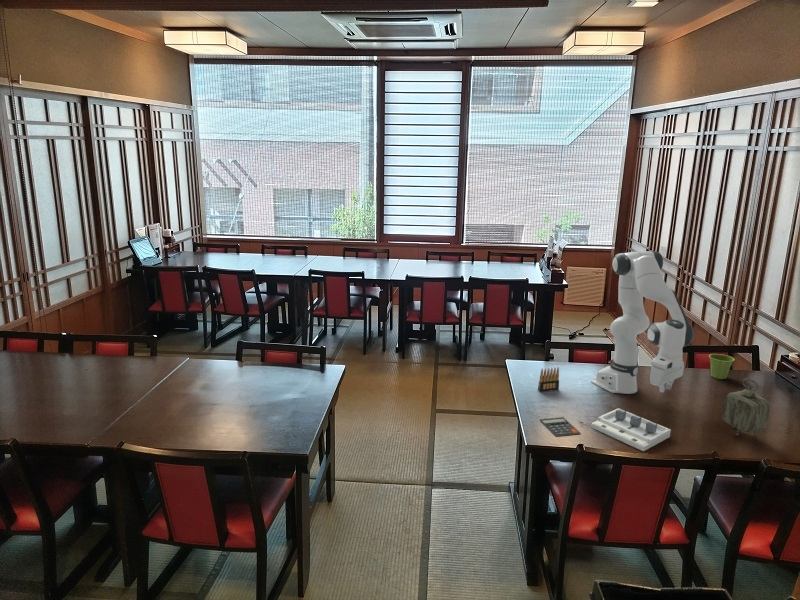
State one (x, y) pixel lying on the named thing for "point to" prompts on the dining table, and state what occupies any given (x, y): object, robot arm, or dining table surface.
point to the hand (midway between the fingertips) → (664, 390)
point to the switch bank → (630, 431)
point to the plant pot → (720, 365)
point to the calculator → (559, 427)
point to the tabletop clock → (746, 410)
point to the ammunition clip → (549, 380)
